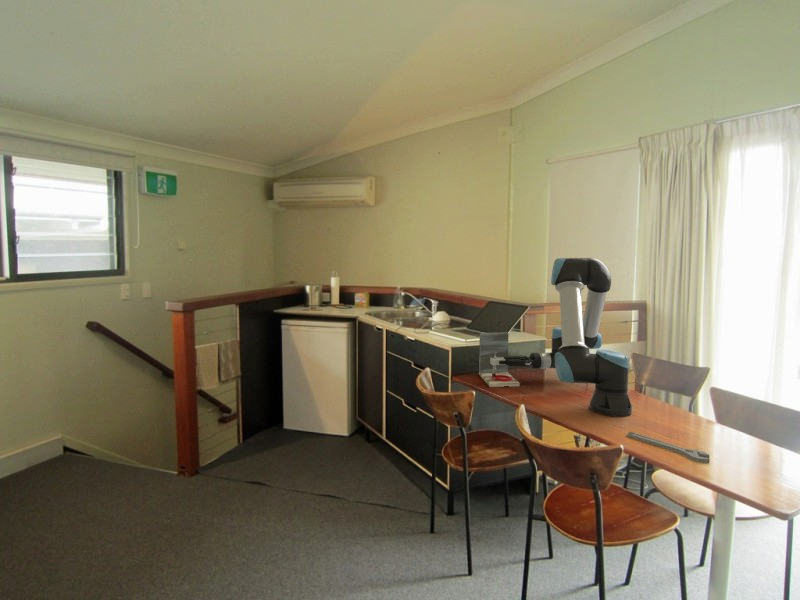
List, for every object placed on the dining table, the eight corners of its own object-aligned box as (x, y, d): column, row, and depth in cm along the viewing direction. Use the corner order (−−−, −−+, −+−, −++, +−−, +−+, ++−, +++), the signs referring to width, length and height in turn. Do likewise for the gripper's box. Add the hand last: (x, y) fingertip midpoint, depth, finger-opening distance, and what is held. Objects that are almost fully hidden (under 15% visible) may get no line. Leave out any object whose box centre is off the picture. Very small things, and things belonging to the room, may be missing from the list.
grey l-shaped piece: (519, 386, 217) (520, 340, 215) (489, 386, 217) (490, 340, 214) (506, 374, 239) (507, 332, 237) (479, 374, 238) (479, 332, 236)
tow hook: (510, 377, 228) (491, 376, 229) (512, 351, 226) (493, 350, 228) (512, 382, 220) (492, 381, 221) (514, 355, 218) (494, 354, 219)
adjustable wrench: (625, 437, 159) (625, 432, 158) (636, 433, 162) (637, 428, 162) (703, 465, 137) (704, 459, 137) (715, 460, 140) (715, 455, 140)
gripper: (545, 372, 218) (495, 373, 216) (533, 364, 233) (487, 365, 231) (545, 356, 217) (495, 357, 216) (534, 349, 232) (487, 350, 231)
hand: (491, 361), depth 224 cm, fingers open, 2 cm apart
